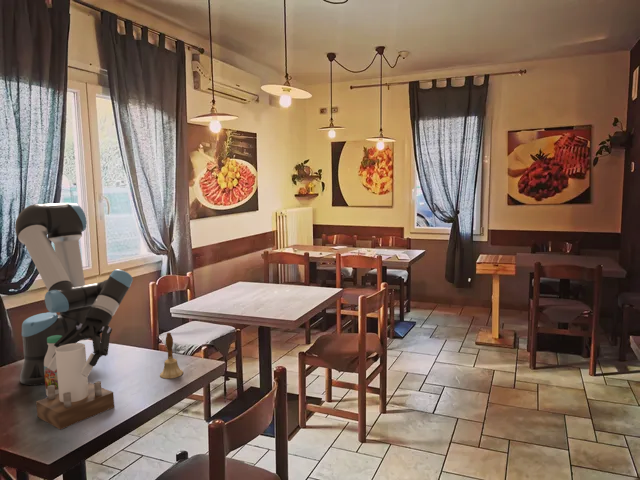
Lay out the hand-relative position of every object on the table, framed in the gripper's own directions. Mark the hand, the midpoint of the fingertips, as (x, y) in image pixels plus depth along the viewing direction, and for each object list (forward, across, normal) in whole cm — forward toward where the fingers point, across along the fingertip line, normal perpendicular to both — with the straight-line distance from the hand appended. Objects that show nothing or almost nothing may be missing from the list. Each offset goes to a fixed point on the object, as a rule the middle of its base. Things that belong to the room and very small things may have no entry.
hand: (66, 372), depth 148 cm
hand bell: (-16, -9, -36) cm, 41 cm away
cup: (+5, 0, -8) cm, 9 cm away
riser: (+8, 0, -11) cm, 14 cm away
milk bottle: (+2, +18, -18) cm, 25 cm away
